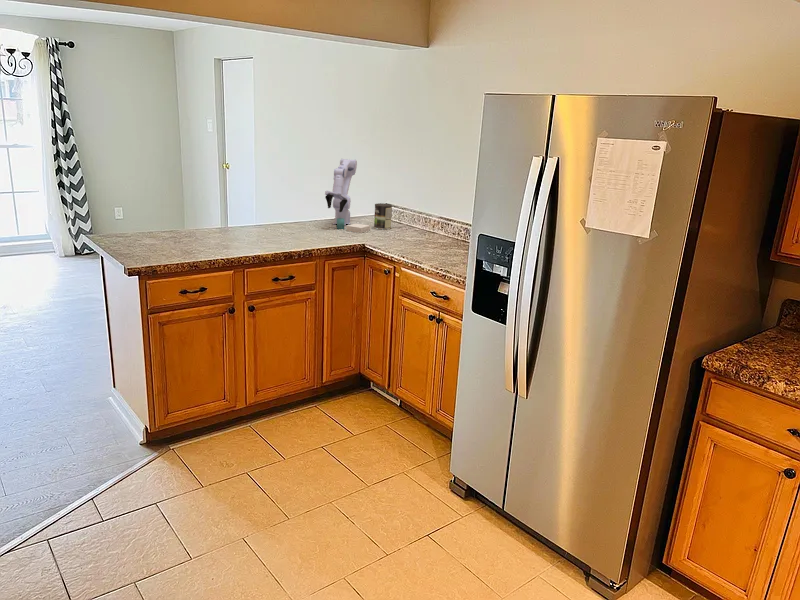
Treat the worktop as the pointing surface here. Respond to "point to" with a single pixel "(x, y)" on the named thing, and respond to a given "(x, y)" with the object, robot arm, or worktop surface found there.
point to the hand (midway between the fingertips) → (335, 209)
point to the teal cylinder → (340, 223)
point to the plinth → (357, 228)
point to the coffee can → (382, 216)
